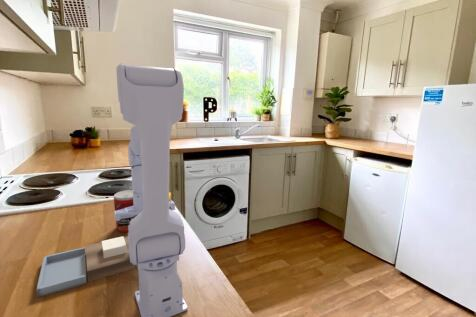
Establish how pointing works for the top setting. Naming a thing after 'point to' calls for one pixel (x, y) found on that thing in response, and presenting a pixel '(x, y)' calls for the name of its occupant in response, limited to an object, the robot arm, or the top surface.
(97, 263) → the walnut board
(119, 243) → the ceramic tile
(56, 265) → the tray
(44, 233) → the top surface
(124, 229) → the canned food
